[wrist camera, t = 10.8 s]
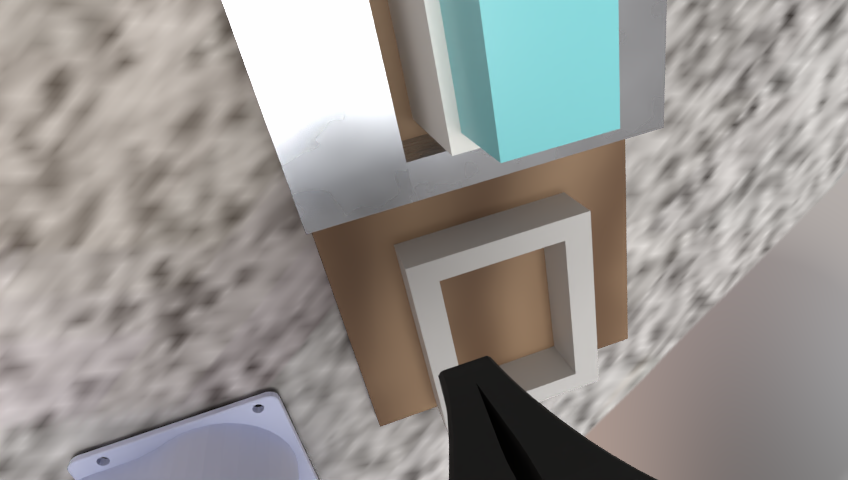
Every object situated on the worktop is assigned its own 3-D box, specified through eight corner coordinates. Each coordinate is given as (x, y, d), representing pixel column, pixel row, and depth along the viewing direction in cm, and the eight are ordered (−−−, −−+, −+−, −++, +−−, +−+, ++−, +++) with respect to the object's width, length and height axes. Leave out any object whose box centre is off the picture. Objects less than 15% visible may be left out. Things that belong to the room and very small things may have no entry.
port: (302, 207, 20) (306, 234, 18) (182, -133, 15) (166, -154, 12) (624, 114, 22) (663, 127, 19) (620, -219, 16) (672, -251, 14)
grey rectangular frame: (436, 402, 26) (448, 435, 24) (394, 244, 22) (405, 269, 20) (576, 353, 27) (598, 380, 25) (564, 192, 23) (590, 210, 21)
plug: (413, 119, 19) (488, 190, 12) (374, -60, 17) (445, -97, 10) (509, 92, 20) (634, 146, 13) (489, -85, 17) (634, -137, 10)
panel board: (377, 415, 26) (380, 426, 26) (179, -147, 15) (175, -154, 14) (619, 329, 28) (627, 338, 28) (606, -230, 17) (620, -239, 16)
